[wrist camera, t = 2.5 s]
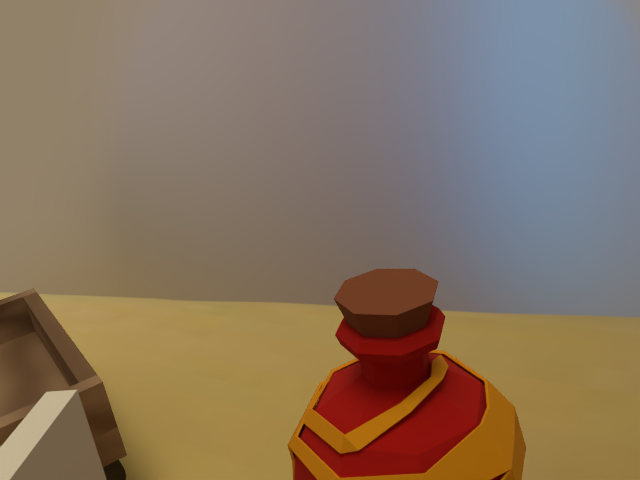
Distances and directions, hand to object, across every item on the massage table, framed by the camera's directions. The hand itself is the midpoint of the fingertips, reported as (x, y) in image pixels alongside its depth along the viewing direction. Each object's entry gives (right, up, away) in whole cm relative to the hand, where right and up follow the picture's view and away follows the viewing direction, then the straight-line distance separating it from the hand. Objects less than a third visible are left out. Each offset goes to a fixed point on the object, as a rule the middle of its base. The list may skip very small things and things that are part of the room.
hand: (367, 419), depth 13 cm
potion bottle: (+4, -12, +16) cm, 20 cm away
